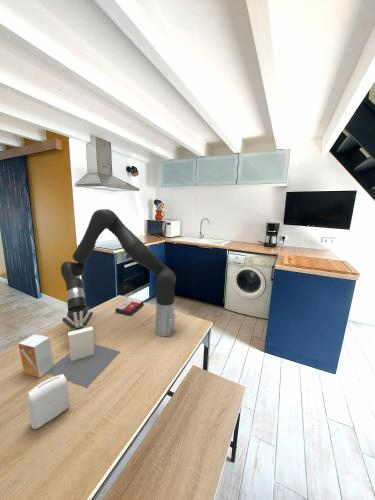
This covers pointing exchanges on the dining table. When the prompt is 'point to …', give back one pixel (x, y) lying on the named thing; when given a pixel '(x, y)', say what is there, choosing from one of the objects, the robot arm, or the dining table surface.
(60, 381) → the photo printer
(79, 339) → the cream tile
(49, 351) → the small box
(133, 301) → the red and black box
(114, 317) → the dining table surface
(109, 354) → the charcoal mat
